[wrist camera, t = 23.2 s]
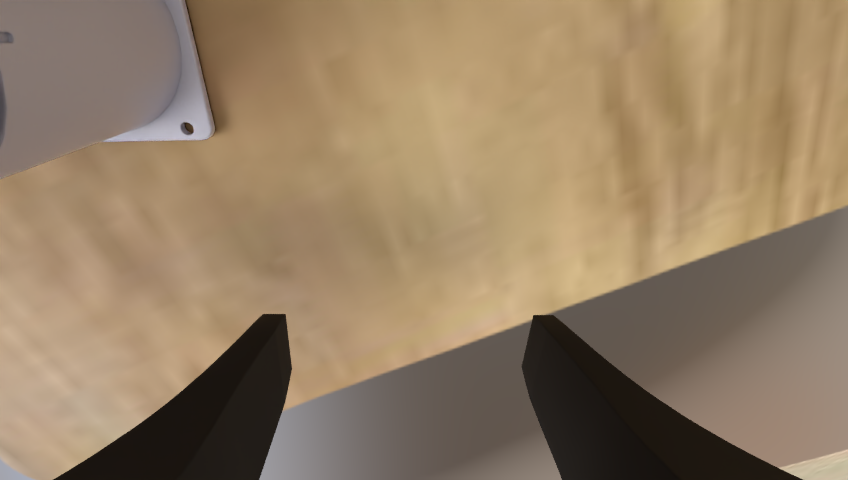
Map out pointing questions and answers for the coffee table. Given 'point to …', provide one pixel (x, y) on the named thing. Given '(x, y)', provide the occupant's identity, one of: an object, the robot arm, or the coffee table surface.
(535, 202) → the coffee table surface
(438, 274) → the coffee table surface
